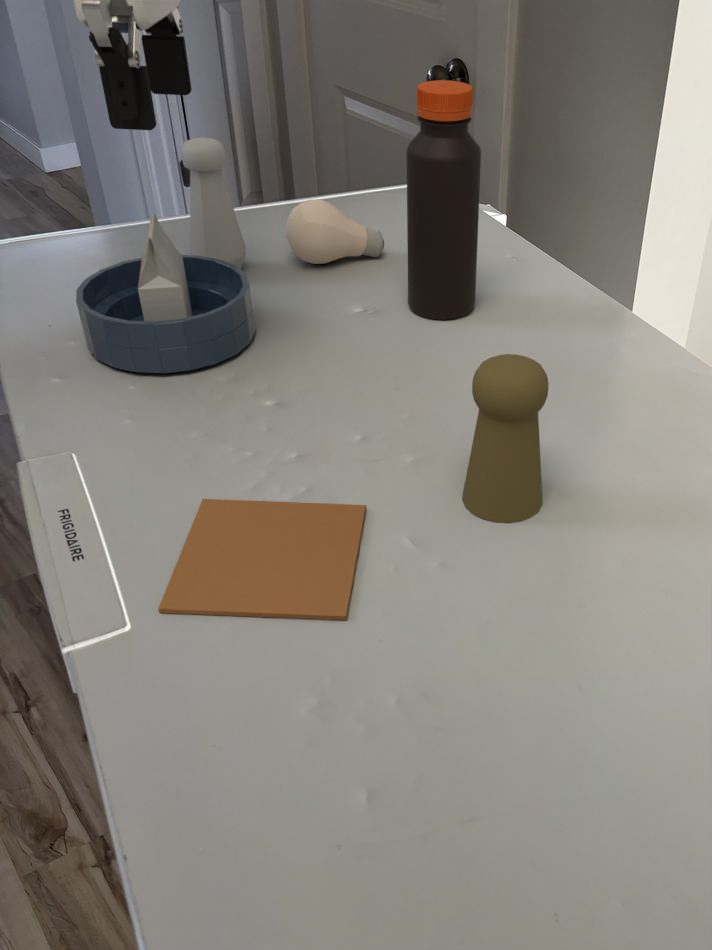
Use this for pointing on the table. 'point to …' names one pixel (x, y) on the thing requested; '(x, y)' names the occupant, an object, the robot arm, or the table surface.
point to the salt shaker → (211, 204)
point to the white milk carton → (162, 278)
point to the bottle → (443, 203)
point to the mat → (267, 560)
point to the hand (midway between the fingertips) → (153, 110)
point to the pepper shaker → (506, 440)
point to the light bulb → (328, 234)
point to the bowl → (172, 341)
